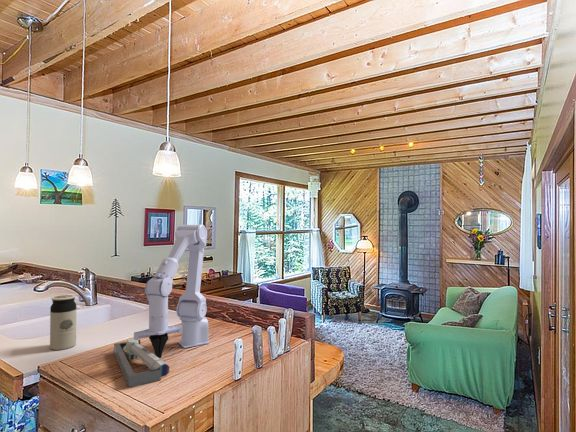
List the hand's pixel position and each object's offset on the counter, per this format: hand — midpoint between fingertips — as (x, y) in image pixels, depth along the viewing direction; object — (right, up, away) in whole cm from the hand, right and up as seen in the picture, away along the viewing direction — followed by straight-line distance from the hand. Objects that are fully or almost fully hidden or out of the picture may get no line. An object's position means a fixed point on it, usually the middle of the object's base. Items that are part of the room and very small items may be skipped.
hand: (158, 358), depth 114 cm
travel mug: (-40, -2, +15) cm, 42 cm away
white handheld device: (-4, -2, -2) cm, 4 cm away
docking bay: (-7, -1, -2) cm, 7 cm away
